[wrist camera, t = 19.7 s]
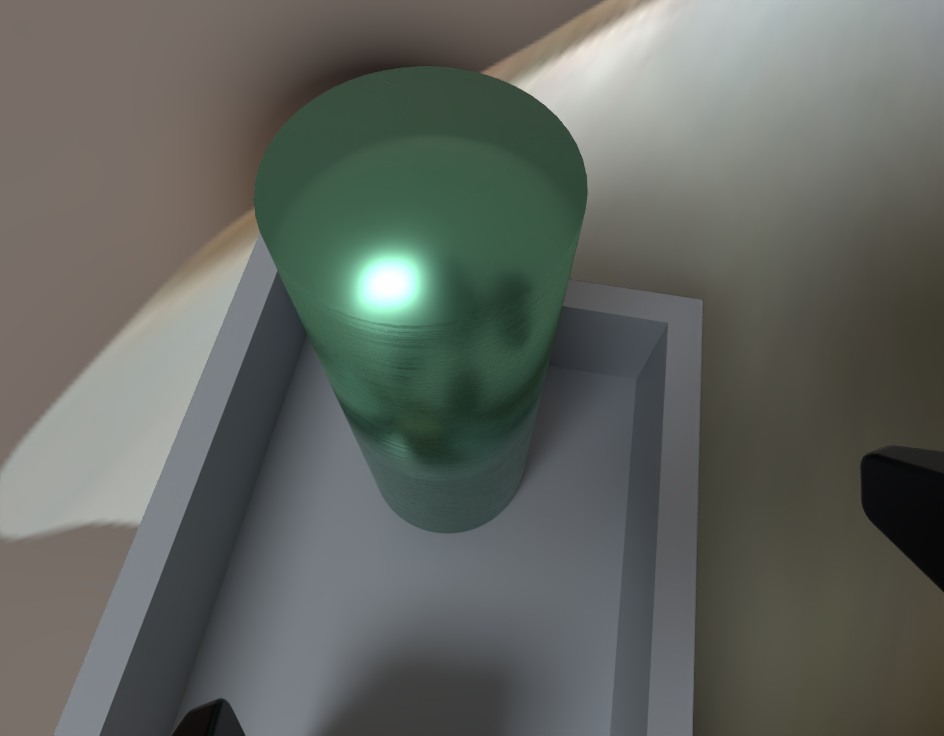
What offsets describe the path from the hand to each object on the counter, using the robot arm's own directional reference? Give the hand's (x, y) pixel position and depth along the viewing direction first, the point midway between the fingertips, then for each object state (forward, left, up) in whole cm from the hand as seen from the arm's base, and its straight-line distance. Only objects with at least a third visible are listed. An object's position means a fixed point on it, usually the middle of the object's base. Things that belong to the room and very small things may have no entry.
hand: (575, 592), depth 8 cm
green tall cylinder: (+5, +3, -12) cm, 13 cm away
